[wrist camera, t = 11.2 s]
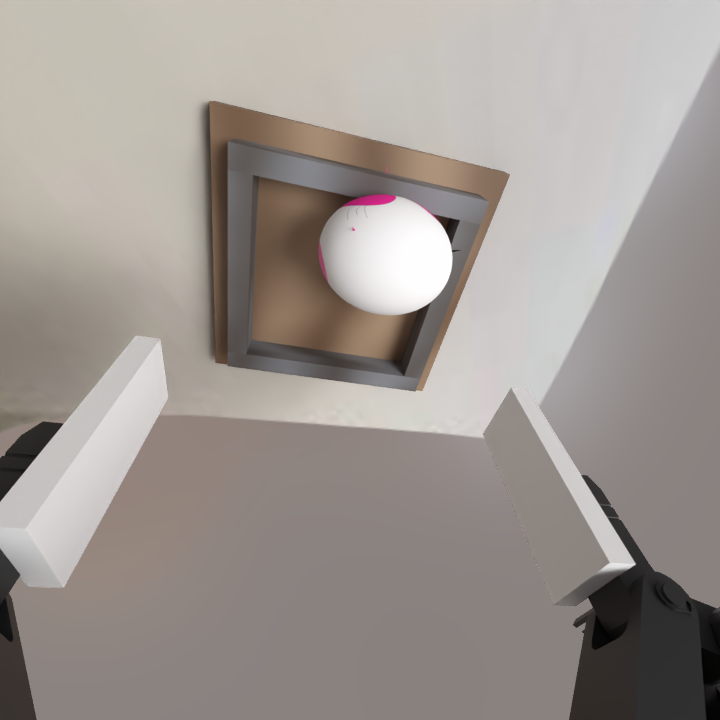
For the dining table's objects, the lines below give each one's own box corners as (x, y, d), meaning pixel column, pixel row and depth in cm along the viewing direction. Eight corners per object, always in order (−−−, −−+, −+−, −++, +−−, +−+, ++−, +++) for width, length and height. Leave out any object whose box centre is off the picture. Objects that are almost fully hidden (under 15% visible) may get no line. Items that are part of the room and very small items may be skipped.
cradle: (219, 354, 27) (208, 377, 25) (215, 101, 18) (197, 101, 16) (420, 382, 30) (426, 406, 28) (503, 171, 21) (523, 180, 19)
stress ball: (400, 211, 25) (476, 159, 19) (402, 327, 24) (480, 311, 19) (294, 182, 21) (349, 107, 15) (294, 319, 21) (350, 296, 15)
